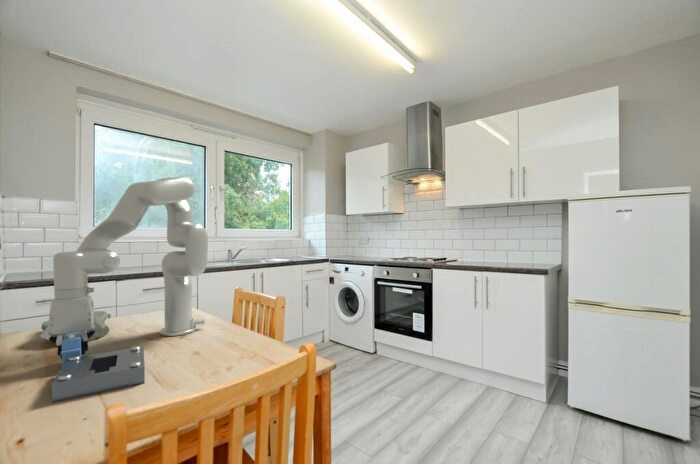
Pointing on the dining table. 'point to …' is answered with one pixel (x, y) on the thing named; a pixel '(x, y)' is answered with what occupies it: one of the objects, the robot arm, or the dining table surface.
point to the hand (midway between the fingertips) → (73, 354)
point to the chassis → (99, 373)
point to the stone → (100, 317)
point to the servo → (71, 346)
